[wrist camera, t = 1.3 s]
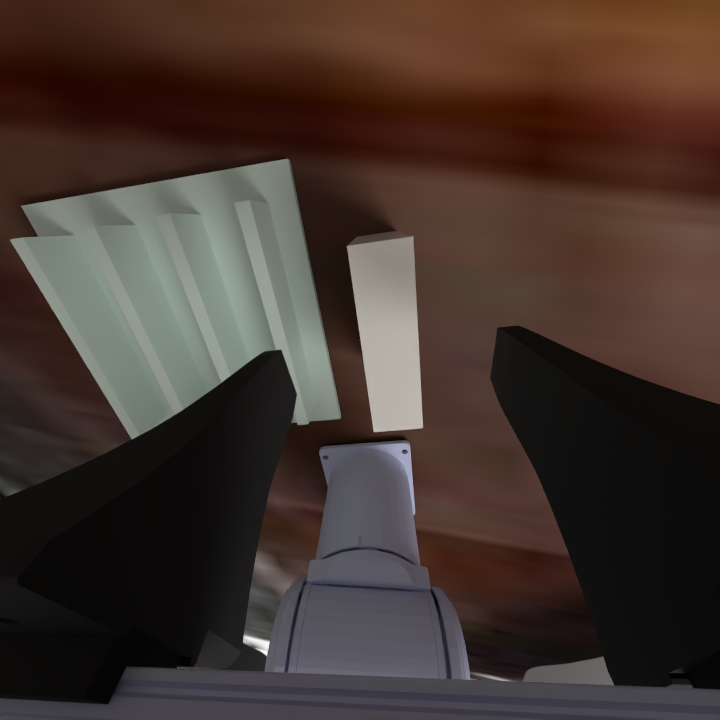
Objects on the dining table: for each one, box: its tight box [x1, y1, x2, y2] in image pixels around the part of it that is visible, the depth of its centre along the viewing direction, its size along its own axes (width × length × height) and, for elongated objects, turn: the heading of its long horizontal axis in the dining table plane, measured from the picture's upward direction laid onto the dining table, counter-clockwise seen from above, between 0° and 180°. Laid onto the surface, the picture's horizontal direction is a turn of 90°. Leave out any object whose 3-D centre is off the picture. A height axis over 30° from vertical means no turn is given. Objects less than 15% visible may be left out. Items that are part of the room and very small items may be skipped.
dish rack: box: [10, 159, 341, 439], centre depth 19 cm, size 18×17×4 cm
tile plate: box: [347, 231, 423, 432], centre depth 16 cm, size 9×2×8 cm, turn 8°
